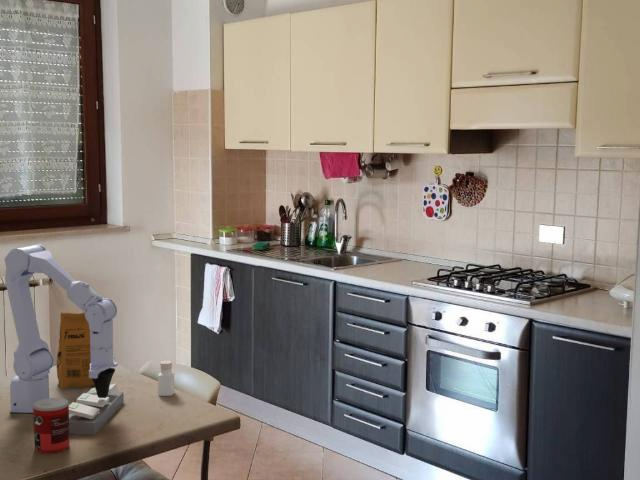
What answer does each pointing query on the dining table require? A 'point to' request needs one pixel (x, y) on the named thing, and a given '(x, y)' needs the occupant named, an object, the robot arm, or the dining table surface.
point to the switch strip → (97, 422)
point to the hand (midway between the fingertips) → (102, 397)
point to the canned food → (51, 425)
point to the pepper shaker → (166, 379)
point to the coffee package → (74, 352)
